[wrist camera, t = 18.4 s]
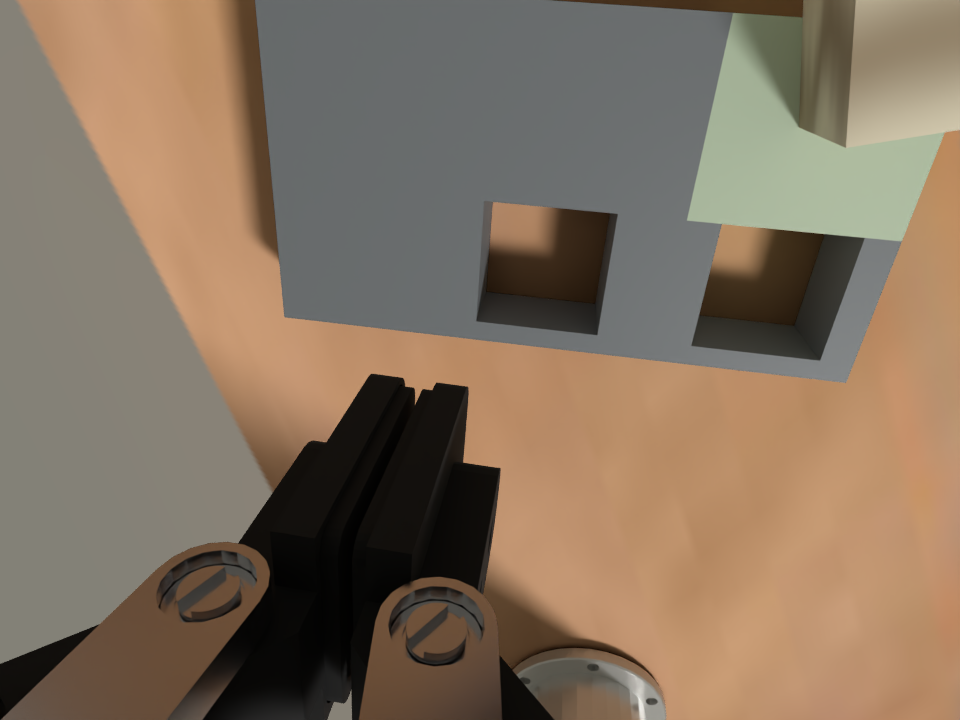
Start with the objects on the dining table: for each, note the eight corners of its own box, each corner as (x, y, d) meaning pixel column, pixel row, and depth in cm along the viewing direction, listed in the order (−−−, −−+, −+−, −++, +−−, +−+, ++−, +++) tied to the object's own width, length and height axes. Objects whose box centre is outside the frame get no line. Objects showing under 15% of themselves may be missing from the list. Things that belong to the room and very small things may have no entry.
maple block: (938, 104, 24) (1018, 120, 20) (798, 127, 25) (845, 148, 21) (957, -47, 22) (1052, -66, 18) (803, -15, 23) (857, -25, 19)
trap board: (817, 345, 34) (845, 382, 30) (312, 289, 36) (284, 317, 32) (930, 29, 26) (985, 29, 23) (292, -14, 29) (253, -20, 25)
